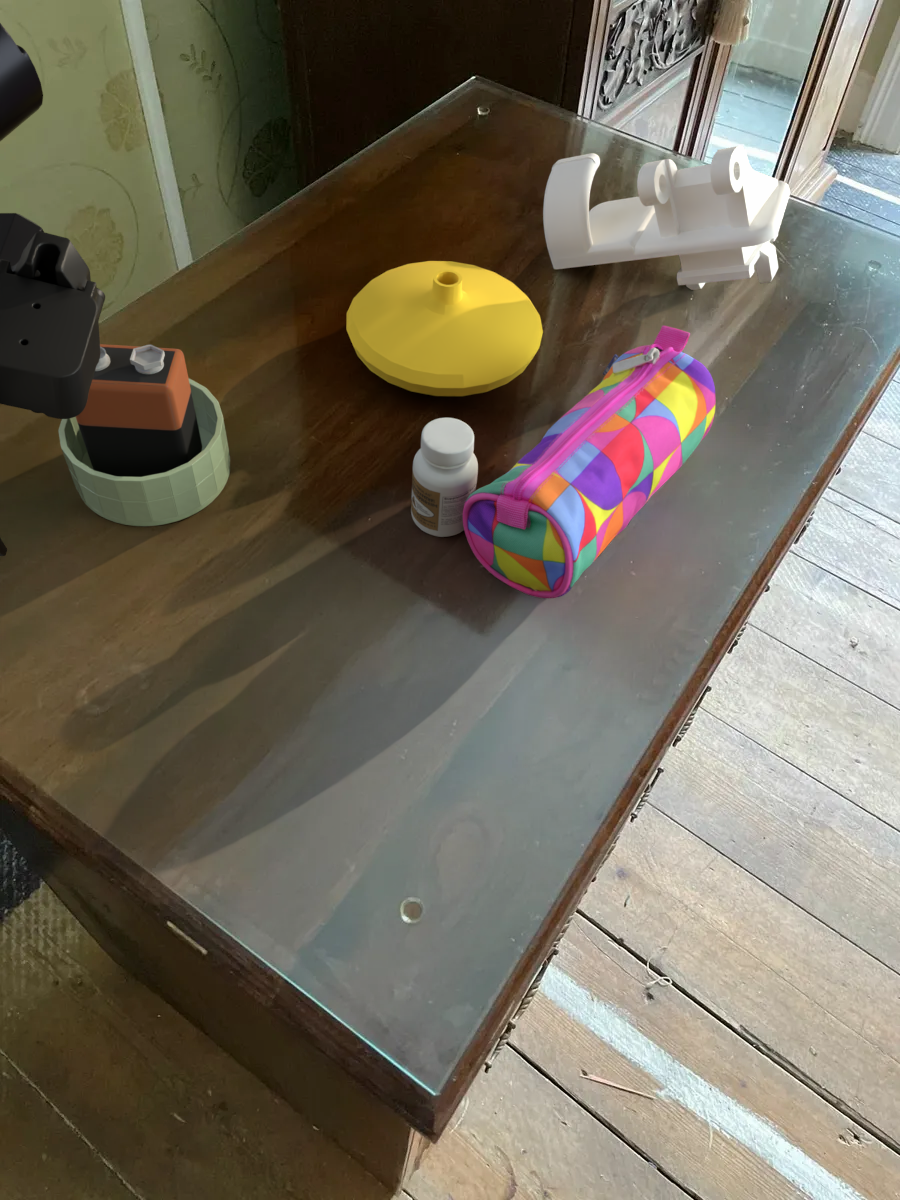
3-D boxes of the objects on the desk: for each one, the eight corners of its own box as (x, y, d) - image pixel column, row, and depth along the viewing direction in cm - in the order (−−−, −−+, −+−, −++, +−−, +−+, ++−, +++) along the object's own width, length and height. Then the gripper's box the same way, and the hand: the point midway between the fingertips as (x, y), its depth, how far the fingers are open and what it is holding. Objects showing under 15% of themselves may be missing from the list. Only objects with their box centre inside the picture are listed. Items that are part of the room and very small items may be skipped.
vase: (420, 272, 85) (423, 198, 79) (572, 342, 80) (587, 269, 75) (307, 362, 77) (301, 287, 71) (469, 447, 72) (477, 373, 66)
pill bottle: (401, 502, 68) (403, 421, 62) (456, 486, 69) (463, 405, 63) (426, 546, 66) (430, 466, 60) (482, 528, 67) (493, 448, 61)
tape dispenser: (564, 328, 89) (522, 191, 82) (612, 269, 95) (578, 137, 88) (778, 312, 77) (752, 150, 70) (817, 246, 84) (798, 90, 76)
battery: (193, 490, 67) (168, 379, 59) (96, 485, 67) (57, 372, 59) (204, 447, 70) (181, 334, 62) (110, 442, 69) (75, 328, 61)
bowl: (85, 541, 64) (68, 495, 61) (68, 434, 70) (51, 386, 67) (244, 508, 67) (237, 462, 63) (214, 407, 73) (206, 360, 69)
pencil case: (601, 398, 76) (625, 302, 69) (708, 449, 73) (743, 355, 66) (447, 566, 65) (455, 472, 58) (565, 634, 62) (590, 544, 55)
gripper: (-40, 457, 33) (127, 641, 47) (88, 99, 41) (198, 346, 55) (-337, 452, 34) (-87, 634, 48) (-154, 103, 42) (14, 345, 56)
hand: (21, 479), depth 52 cm, fingers open, 9 cm apart
